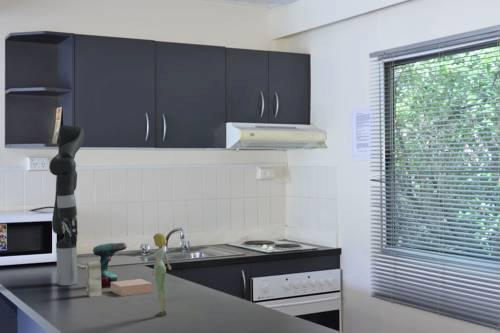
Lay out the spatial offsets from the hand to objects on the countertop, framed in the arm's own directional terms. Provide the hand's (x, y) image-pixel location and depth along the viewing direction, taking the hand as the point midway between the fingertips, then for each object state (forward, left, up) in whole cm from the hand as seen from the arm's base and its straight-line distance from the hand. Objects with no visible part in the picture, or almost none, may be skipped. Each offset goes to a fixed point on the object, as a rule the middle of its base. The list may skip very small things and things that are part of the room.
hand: (70, 243), depth 294 cm
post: (+1, +9, -23) cm, 25 cm away
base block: (+3, +25, -23) cm, 34 cm away
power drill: (-16, +22, -23) cm, 36 cm away
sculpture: (+55, +18, -23) cm, 62 cm away
